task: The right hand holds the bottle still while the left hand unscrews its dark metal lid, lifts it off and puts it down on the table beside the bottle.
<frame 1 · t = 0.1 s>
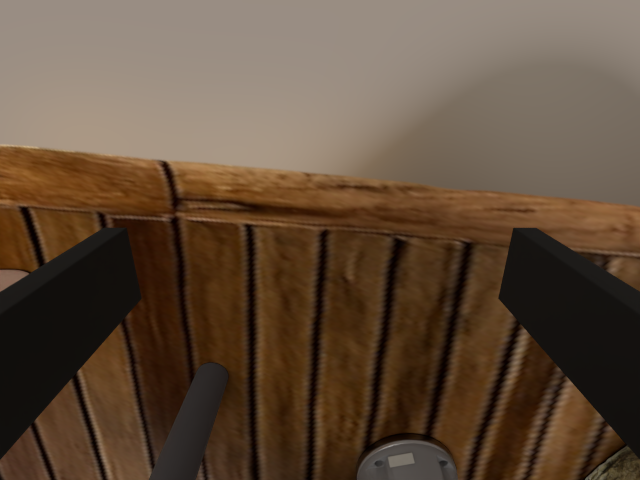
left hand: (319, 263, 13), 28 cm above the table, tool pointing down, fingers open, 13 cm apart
anatomical model: (9, 311, 46), on the table
fossil: (614, 471, 57), on the table
bottle: (212, 375, 50), on the table
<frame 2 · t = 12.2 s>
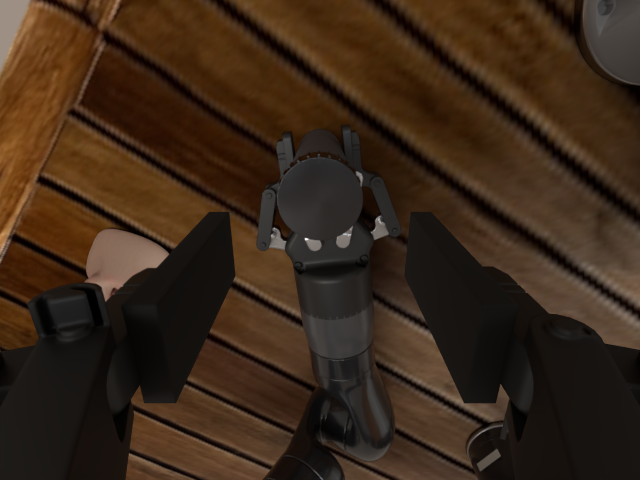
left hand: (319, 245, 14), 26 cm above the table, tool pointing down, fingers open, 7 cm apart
right hand: (315, 129, 31), fingers closed on bottle, 4 cm apart
anatomical model: (137, 280, 44), on the table
lid: (320, 199, 20), point 19 cm above the table, screwed on, not yet turned
bottle: (319, 150, 38), on the table, touching right hand
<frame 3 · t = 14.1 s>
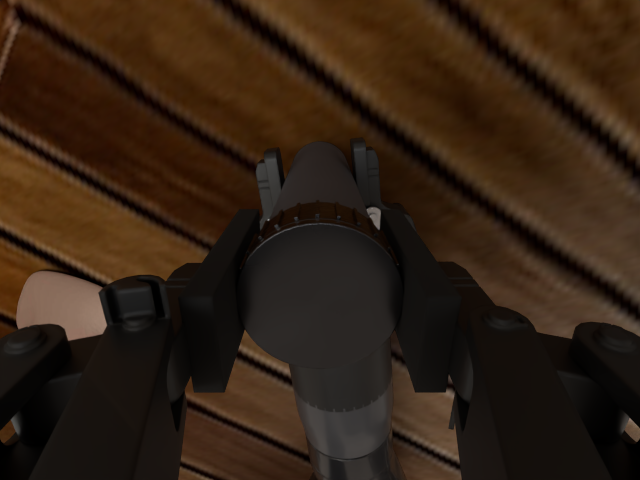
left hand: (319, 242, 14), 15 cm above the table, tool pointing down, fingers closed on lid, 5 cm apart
anatomical model: (85, 333, 34), on the table
lid: (319, 296, 11), point 19 cm above the table, screwed on, not yet turned, touching left hand
bottle: (319, 170, 28), on the table, touching right hand
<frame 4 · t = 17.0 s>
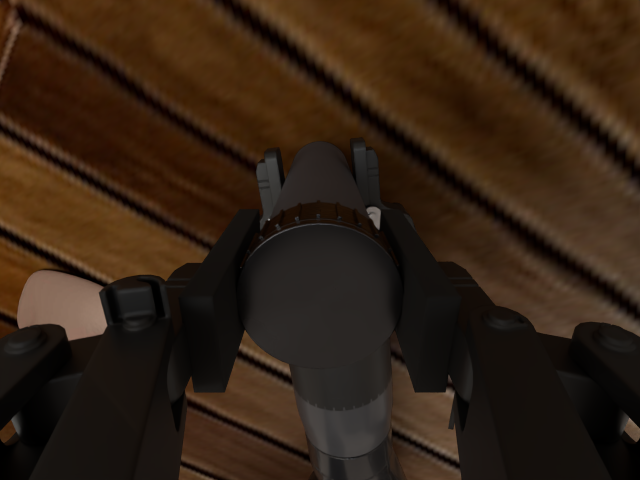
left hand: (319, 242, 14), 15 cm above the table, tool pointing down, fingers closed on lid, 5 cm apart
anatomical model: (86, 333, 34), on the table
lid: (319, 296, 11), point 19 cm above the table, turned 82° so far, risen 0.1 cm, still on its thread, touching left hand
bottle: (319, 169, 28), on the table, touching right hand
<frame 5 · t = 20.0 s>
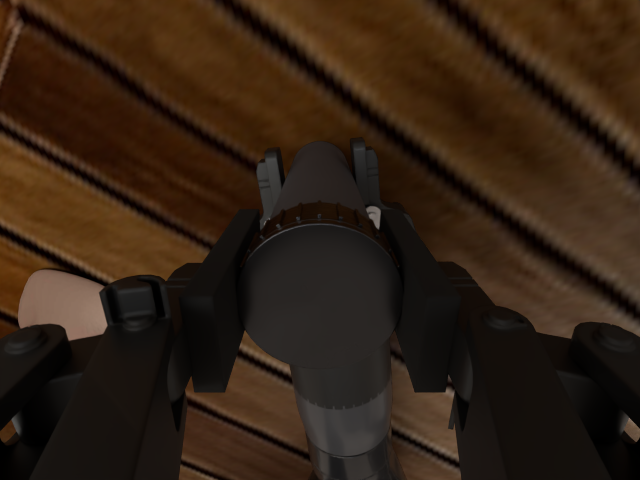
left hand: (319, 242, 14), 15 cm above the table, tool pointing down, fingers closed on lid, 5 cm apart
anatomical model: (86, 332, 34), on the table
lid: (319, 296, 10), point 19 cm above the table, turned 165° so far, risen 0.2 cm, still on its thread, touching left hand
bottle: (319, 169, 28), on the table, touching right hand
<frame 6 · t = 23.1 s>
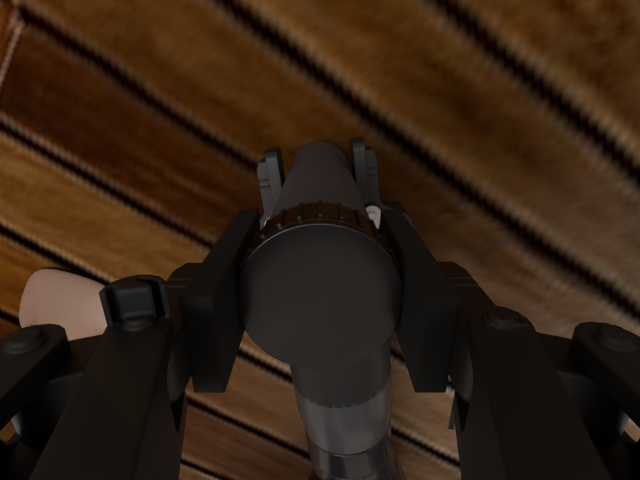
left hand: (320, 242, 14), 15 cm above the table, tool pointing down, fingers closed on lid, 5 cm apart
anatomical model: (87, 331, 34), on the table
lid: (319, 296, 10), point 19 cm above the table, turned 247° so far, risen 0.3 cm, still on its thread, touching left hand
bottle: (319, 169, 28), on the table, touching right hand
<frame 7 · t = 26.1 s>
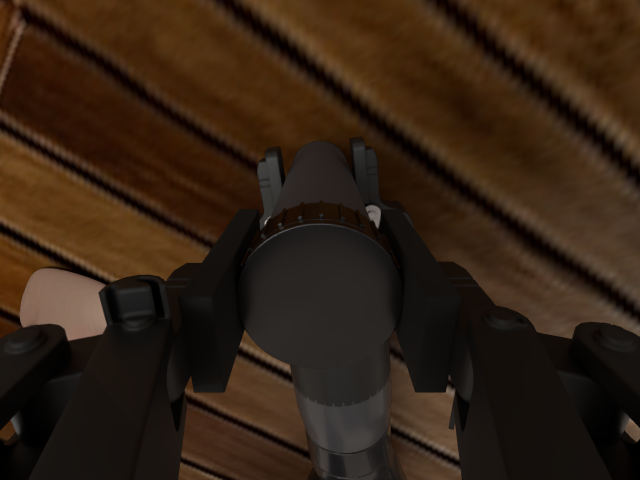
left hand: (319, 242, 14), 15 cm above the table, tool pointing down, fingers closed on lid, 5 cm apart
anatomical model: (88, 330, 34), on the table
lid: (319, 296, 11), point 19 cm above the table, turned 330° so far, risen 0.5 cm, still on its thread, touching left hand
bottle: (319, 169, 29), on the table, touching right hand
when the left hand's fingers open (0 cm above the table, at t = 36.4 s): lid drops 3 cm, point 2 cm above the table.
when the right hand's fingers open (7 cm above the table, at t = 37.0 s): bottle stays where it is, on the table.
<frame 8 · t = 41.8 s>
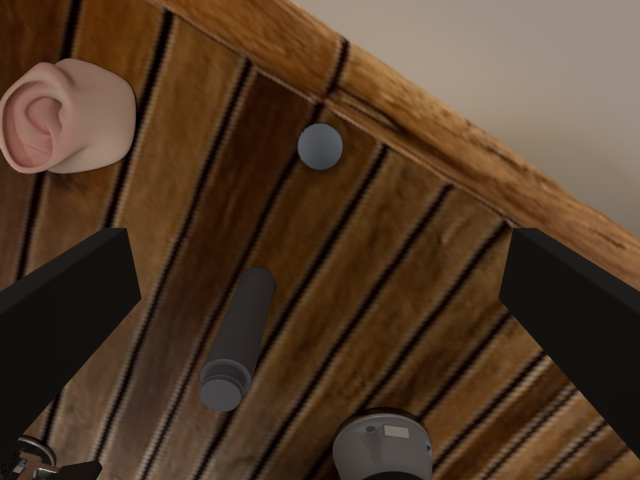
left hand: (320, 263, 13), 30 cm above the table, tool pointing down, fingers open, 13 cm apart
anatomical model: (79, 118, 39), on the table
lid: (320, 146, 38), point 2 cm above the table, off its thread
bottle: (257, 282, 46), on the table
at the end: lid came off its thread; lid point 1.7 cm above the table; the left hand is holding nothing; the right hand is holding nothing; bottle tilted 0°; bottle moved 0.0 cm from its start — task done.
